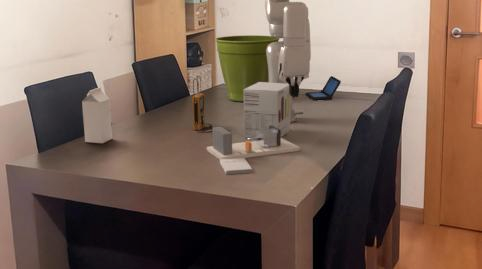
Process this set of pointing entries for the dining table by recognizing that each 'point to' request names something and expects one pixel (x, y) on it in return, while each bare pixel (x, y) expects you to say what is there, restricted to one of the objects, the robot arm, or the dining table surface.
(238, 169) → the external hard drive
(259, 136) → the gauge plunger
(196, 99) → the multimeter
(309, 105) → the dining table surface
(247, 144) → the small orange block
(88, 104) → the milk carton
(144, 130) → the dining table surface
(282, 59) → the robot arm
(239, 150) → the base
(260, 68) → the plant pot
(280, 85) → the supplement box
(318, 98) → the handheld game console
